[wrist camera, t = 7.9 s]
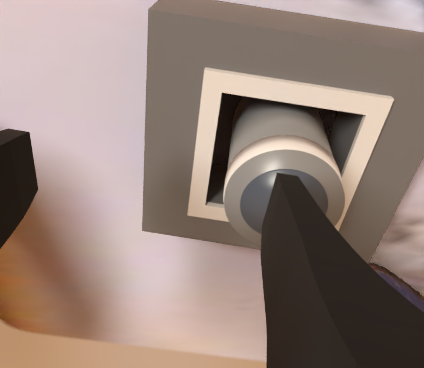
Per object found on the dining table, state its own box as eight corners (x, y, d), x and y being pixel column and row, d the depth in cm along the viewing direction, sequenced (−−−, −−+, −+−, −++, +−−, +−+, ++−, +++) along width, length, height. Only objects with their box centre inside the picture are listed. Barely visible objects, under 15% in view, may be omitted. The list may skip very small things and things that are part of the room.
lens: (228, 155, 22) (218, 244, 16) (236, 75, 19) (227, 147, 13) (310, 164, 21) (330, 256, 16) (329, 85, 19) (362, 160, 13)
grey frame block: (155, 191, 23) (141, 234, 20) (166, -8, 17) (146, 11, 14) (353, 222, 23) (368, 270, 20) (437, 34, 17) (477, 62, 14)
